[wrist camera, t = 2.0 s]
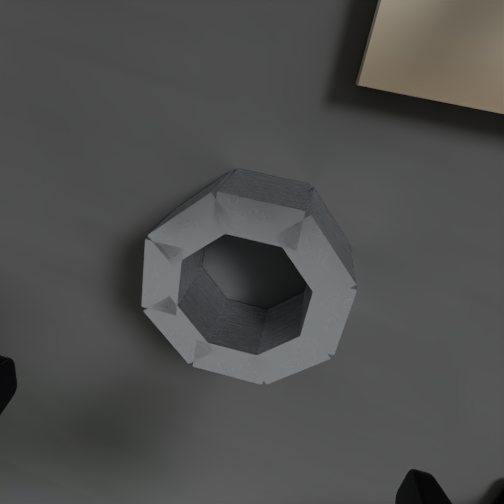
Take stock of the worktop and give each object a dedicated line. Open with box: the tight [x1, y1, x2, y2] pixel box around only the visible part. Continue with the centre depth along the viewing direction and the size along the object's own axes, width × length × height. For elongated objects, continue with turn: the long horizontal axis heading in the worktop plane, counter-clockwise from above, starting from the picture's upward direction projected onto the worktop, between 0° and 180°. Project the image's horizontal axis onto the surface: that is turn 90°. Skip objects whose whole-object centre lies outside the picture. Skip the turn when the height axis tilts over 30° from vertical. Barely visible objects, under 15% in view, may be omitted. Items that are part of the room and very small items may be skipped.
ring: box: [141, 169, 357, 385], centre depth 14 cm, size 7×7×3 cm
